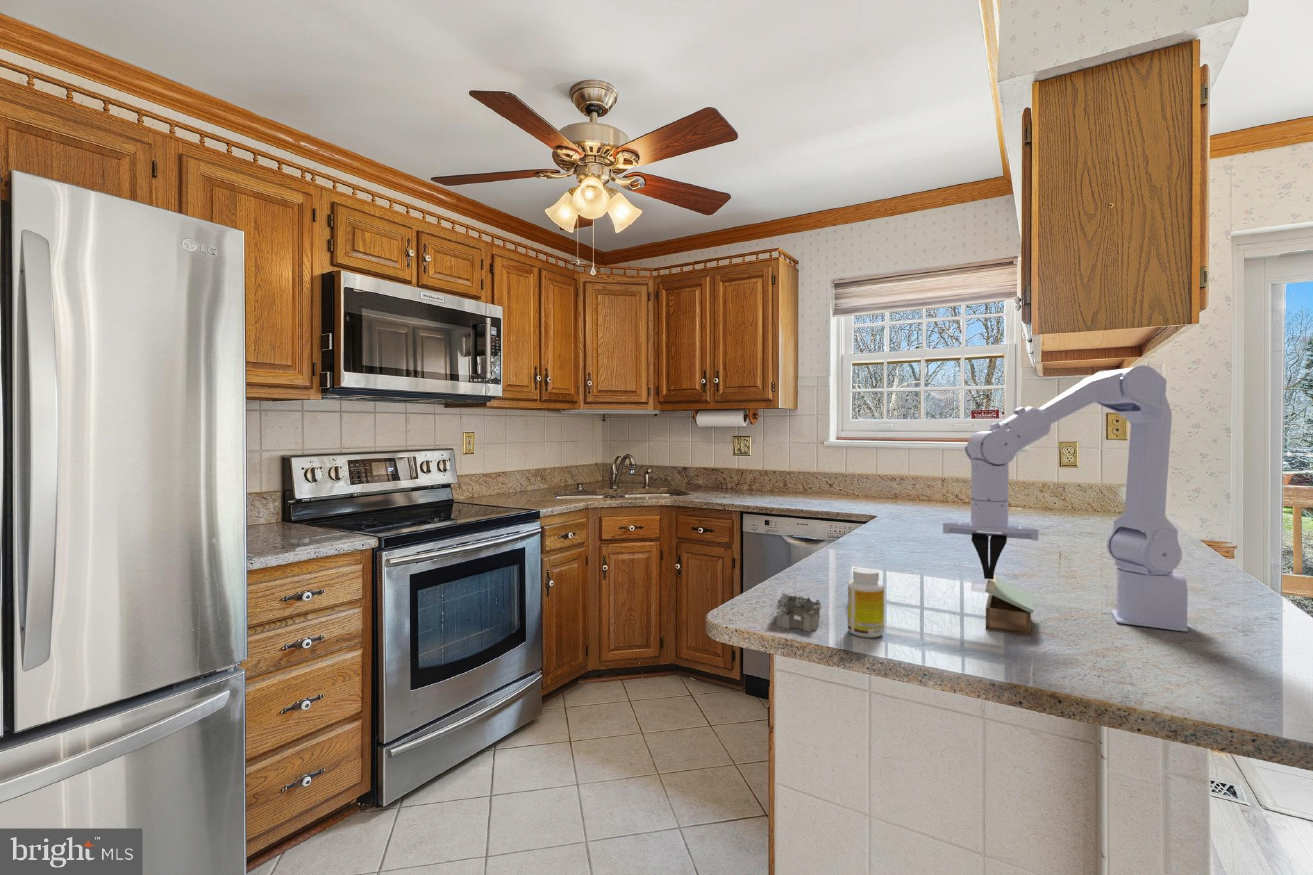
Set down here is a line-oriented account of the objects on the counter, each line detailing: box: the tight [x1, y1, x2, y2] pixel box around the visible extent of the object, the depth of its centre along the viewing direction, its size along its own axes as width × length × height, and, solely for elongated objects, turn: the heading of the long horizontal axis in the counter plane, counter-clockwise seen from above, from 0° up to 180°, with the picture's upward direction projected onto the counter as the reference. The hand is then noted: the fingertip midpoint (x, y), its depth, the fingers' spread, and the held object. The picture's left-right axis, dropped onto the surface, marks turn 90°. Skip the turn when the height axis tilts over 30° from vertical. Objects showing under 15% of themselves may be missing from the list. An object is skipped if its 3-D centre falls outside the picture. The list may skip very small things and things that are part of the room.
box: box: [985, 593, 1032, 637], centre depth 106 cm, size 6×12×4 cm, turn 150°
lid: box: [985, 574, 1035, 614], centre depth 106 cm, size 7×12×1 cm, turn 150°
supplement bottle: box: [847, 567, 885, 639], centre depth 101 cm, size 6×6×10 cm
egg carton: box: [773, 592, 823, 632], centre depth 108 cm, size 11×8×4 cm
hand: (988, 577), depth 108 cm, fingers closed
